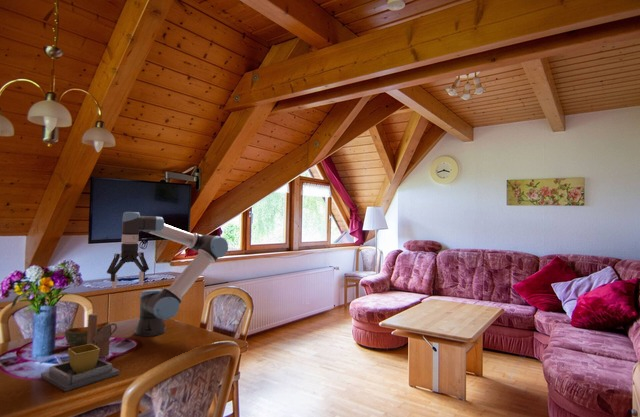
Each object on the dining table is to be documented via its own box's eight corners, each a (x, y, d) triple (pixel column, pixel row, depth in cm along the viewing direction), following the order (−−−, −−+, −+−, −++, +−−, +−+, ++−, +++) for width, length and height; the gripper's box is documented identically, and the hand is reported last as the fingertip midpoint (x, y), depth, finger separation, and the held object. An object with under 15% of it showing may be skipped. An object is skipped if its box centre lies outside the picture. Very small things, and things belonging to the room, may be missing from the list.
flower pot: (99, 371, 155) (100, 348, 155) (74, 377, 148) (75, 353, 148) (90, 365, 160) (91, 343, 160) (66, 371, 153) (67, 348, 154)
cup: (101, 350, 181) (102, 328, 182) (61, 348, 183) (62, 326, 184) (117, 342, 194) (118, 321, 195) (80, 340, 196) (81, 320, 196)
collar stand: (94, 362, 167) (94, 353, 167) (119, 374, 156) (120, 364, 156) (40, 377, 151) (41, 367, 151) (64, 391, 140) (65, 380, 140)
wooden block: (102, 358, 172) (104, 317, 173) (84, 354, 176) (86, 314, 176) (109, 355, 176) (111, 315, 176) (91, 352, 179) (93, 313, 180)
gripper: (108, 244, 179) (106, 290, 178) (157, 242, 200) (155, 284, 199) (100, 243, 183) (97, 288, 182) (148, 241, 204) (146, 282, 203)
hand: (127, 286), depth 191 cm, fingers open, 13 cm apart
